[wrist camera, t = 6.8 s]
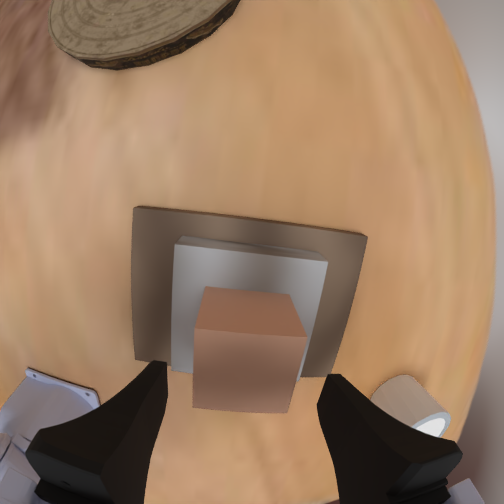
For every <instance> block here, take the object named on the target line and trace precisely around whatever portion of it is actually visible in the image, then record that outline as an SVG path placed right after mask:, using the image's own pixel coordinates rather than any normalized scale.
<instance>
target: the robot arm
mask: <svg viewBox="0 0 504 504" xmlns="http://www.w3.org/2000/svg"><path fill="white" fill-rule="evenodd" d="M25 372H26V375H27V377H26V378H25V379H24V380H23V381H22V383H21V384H20V385H19V386H18V387H17V389H16V390H15V391H14V392H13V394H12V395H11V396H10V397H9V398H8V400H7V401H6V402H5V404H4V405H3V406H2V408H1V411H0V504H144V496H145V488H146V482H147V475H148V469H149V464H150V458H151V455H152V451H153V448H154V444H155V441H156V438H157V435H158V432H159V429H160V426H161V423H162V420H163V417H164V414H165V409H166V403H167V398H168V383H167V362H163V361H157V360H153V361H151V362H150V363H149V364H148V365H147V367H146V368H145V369H144V370H143V371H142V372H141V373H140V374H139V375H138V376H137V377H136V378H135V379H134V380H133V381H131V382H130V383H129V384H128V385H127V386H126V387H125V388H124V389H122V390H121V391H120V392H119V393H117V394H116V395H115V396H114V397H112V398H111V399H110V400H108V401H107V402H105V403H104V404H102V405H101V406H100V404H99V400H98V396H97V393H96V392H95V391H93V390H90V389H87V388H83V387H80V386H77V385H74V384H71V383H67V382H64V381H61V380H59V379H56V378H53V377H50V376H47V375H45V374H42V373H39V372H37V371H34V370H32V369H29V368H27V369H26V370H25ZM317 411H318V416H319V422H320V425H321V428H322V431H323V434H324V437H325V440H326V443H327V446H328V449H329V452H330V455H331V458H332V461H333V465H334V469H335V474H336V479H337V486H338V492H339V500H340V504H485V503H484V501H483V500H482V498H481V496H480V495H479V493H478V491H477V490H476V488H475V487H474V485H473V484H472V482H471V480H470V479H466V480H464V481H462V482H460V483H458V484H456V485H454V486H452V487H451V488H449V489H448V490H447V488H446V486H445V485H447V484H448V481H447V479H446V477H447V476H448V474H449V473H450V472H451V471H452V470H453V469H454V468H455V467H456V465H457V464H458V463H459V462H460V460H461V458H462V455H463V453H462V451H461V450H460V449H459V447H458V446H457V444H456V443H455V441H452V440H447V439H443V438H439V437H435V436H432V435H429V434H427V433H424V432H421V431H419V430H416V429H414V428H412V427H410V426H408V425H406V424H404V423H402V422H400V421H399V420H397V419H395V418H394V417H392V416H391V415H389V414H387V413H386V412H385V411H383V410H382V409H381V408H379V407H378V406H376V405H375V404H374V403H373V402H371V401H370V400H369V399H368V398H367V397H365V396H364V395H363V394H362V393H361V392H360V391H359V390H357V389H356V388H355V387H354V386H353V385H352V384H351V383H350V382H349V381H348V380H346V379H345V378H344V377H343V376H342V375H341V374H328V375H327V378H326V380H325V383H324V386H323V389H322V392H321V395H320V397H319V400H318V403H317Z"/></svg>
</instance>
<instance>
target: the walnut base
mask: <svg viewBox="0 0 504 504" xmlns="http://www.w3.org/2000/svg"><path fill="white" fill-rule="evenodd" d="M367 239H368V237H367V236H365V235H363V234H361V233H356V232H349V231H343V230H336V229H329V228H323V227H316V226H309V225H302V224H294V223H287V222H280V221H272V220H264V219H256V218H248V217H240V216H232V215H223V214H215V213H206V212H197V211H187V210H178V209H168V208H157V207H147V206H137V207H134V208H133V223H132V250H131V296H132V322H133V339H134V352H135V360H140V361H145V362H151V361H153V360H157V361H163V362H167V365H168V366H171V371H178V372H185V373H192V374H193V355H194V328H195V324H196V320H197V316H198V313H199V309H200V305H201V301H202V297H203V294H204V290H205V286H209V287H218V288H228V289H237V290H248V291H258V292H269V293H280V294H289V295H290V297H291V300H292V302H293V304H294V307H295V309H296V311H297V314H298V316H299V318H300V321H301V323H302V325H303V328H304V330H305V332H306V335H307V337H308V338H307V342H306V346H305V350H304V354H303V358H302V361H301V365H300V369H299V373H298V376H297V380H296V381H299V379H300V377H327V375H328V374H331V371H332V368H333V365H334V362H335V359H336V356H337V353H338V350H339V347H340V344H341V341H342V337H343V334H344V331H345V327H346V324H347V320H348V317H349V313H350V310H351V306H352V302H353V299H354V295H355V291H356V287H357V283H358V279H359V275H360V271H361V266H362V262H363V257H364V253H365V248H366V244H367Z"/></svg>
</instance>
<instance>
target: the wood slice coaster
mask: <svg viewBox="0 0 504 504" xmlns="http://www.w3.org/2000/svg"><path fill="white" fill-rule="evenodd" d="M239 1H240V0H52V2H51V5H50V8H49V11H48V32H49V34H50V36H51V37H52V39H53V41H54V42H55V44H56V46H57V47H58V48H60V49H61V50H63V51H64V52H66V53H67V54H69V55H71V56H72V57H74V58H76V59H77V60H79V61H81V62H83V63H85V64H86V65H88V66H90V67H93V68H102V69H110V70H122V69H128V68H134V67H141V66H149V65H151V64H153V63H156V62H159V61H161V60H164V59H167V58H169V57H172V56H175V55H178V54H181V53H182V52H184V51H186V50H187V49H189V48H190V47H192V46H194V45H195V44H197V43H199V42H200V41H202V40H204V39H205V38H207V37H209V36H211V35H212V34H213V33H214V32H215V31H216V30H217V29H218V28H219V27H220V26H221V25H222V24H223V23H224V22H225V21H226V20H227V19H228V18H229V17H230V16H231V15H232V14H233V13H234V11H235V9H236V7H237V5H238V3H239Z"/></svg>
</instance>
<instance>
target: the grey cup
mask: <svg viewBox="0 0 504 504" xmlns="http://www.w3.org/2000/svg"><path fill="white" fill-rule="evenodd" d="M370 401H371V402H373V403H374V404H375V405H376V406H378V407H379V408H381V409H382V410H383V411H385V412H386V413H387V414H389V415H391V416H392V417H394V418H395V419H397V420H399V421H400V422H402V423H404V424H406V425H408V426H410V427H412V428H414V429H416V430H419V431H421V432H424V433H427V434H429V435H432V436H435V437H439V438H440V437H441V436H442V435H443V434H444V432H445V431H446V429H447V428H448V426H449V424H450V420H451V417H450V415H449V413H448V412H447V411H446V410H445V409H444V408H443V407H442V406H441V405H440V404H439V403H438V402H437V401H436V400H435V399H434V398H433V397H432V396H431V395H430V394H429V393H428V392H427V391H426V390H425V389H424V388H423V387H422V386H421V385H420V384H419V383H418V382H417V381H416V380H415V379H414V378H413V377H412V376H409V375H398V376H396V377H394V378H391V379H389V380H387V381H386V382H385V383H383V384H382V385H381V386H379V388H378V389H377V390H376V391H375V392H374V393H373V395H372V397H371V399H370Z"/></svg>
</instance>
